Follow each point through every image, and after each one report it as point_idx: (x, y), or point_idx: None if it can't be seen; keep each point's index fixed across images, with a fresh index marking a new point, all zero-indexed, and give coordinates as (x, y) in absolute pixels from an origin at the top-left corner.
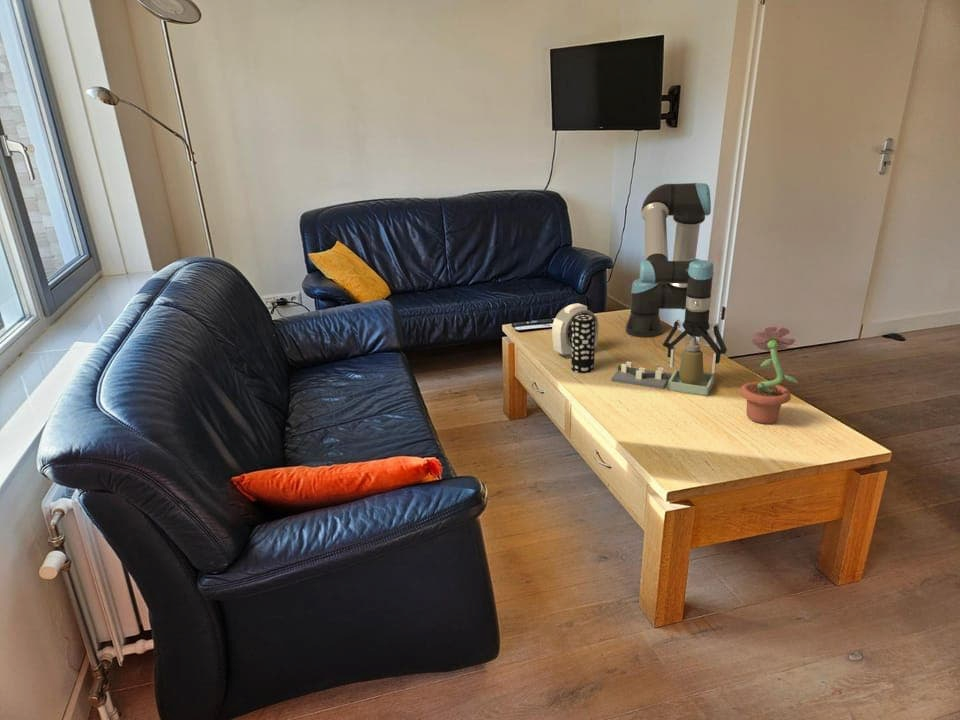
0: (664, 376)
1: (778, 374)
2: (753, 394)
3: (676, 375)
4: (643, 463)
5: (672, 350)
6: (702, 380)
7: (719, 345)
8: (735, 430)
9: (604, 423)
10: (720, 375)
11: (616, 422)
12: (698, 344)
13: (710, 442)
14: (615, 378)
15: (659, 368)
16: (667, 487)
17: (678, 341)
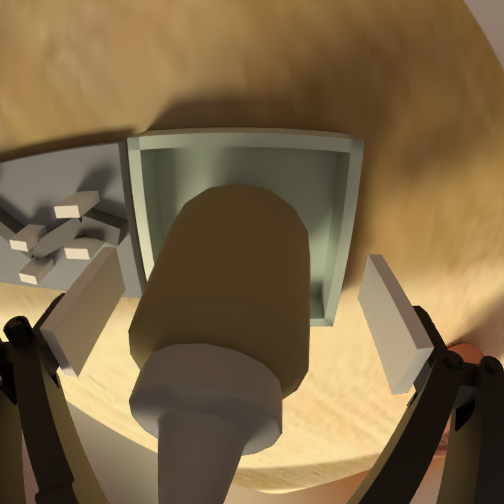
0: (112, 242)
1: None
2: (433, 458)
3: (151, 171)
4: (236, 483)
5: (74, 372)
6: (292, 148)
7: (448, 456)
8: (376, 420)
9: (133, 440)
10: (371, 37)
11: (147, 438)
12: (260, 424)
13: (324, 452)
14: (5, 282)
15: (64, 217)
16: (273, 493)
17: (79, 446)
